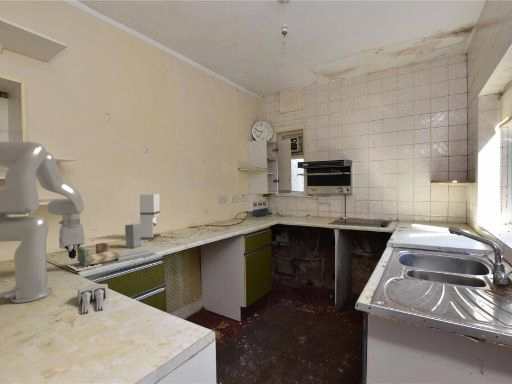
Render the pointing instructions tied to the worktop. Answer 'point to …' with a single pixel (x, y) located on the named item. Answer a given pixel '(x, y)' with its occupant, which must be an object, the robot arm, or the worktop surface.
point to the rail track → (123, 258)
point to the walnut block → (101, 248)
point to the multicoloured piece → (95, 256)
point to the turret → (92, 296)
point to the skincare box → (133, 235)
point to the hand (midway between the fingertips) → (72, 257)
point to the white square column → (149, 215)
